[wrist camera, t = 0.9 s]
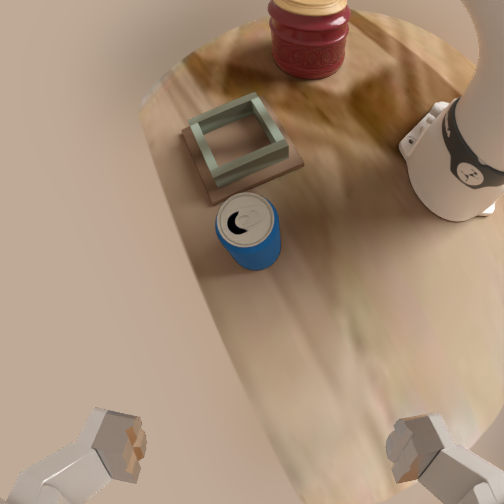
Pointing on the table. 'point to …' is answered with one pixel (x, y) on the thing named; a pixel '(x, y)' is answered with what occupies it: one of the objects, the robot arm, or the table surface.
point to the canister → (309, 36)
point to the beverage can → (249, 230)
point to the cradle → (239, 147)
